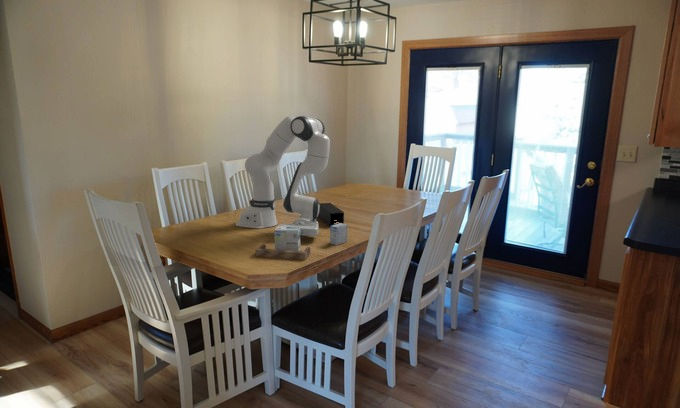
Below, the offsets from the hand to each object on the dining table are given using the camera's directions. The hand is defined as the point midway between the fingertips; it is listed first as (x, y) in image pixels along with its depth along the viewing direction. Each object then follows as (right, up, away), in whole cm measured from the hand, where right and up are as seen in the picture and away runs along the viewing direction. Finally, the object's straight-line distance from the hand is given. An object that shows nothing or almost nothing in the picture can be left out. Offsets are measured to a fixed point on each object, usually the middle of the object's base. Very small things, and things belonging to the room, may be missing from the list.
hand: (293, 234), depth 205 cm
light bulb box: (-2, -7, -8) cm, 11 cm away
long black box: (+20, +6, +31) cm, 38 cm away
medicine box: (+21, -5, +4) cm, 22 cm away
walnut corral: (-3, -8, -14) cm, 17 cm away
